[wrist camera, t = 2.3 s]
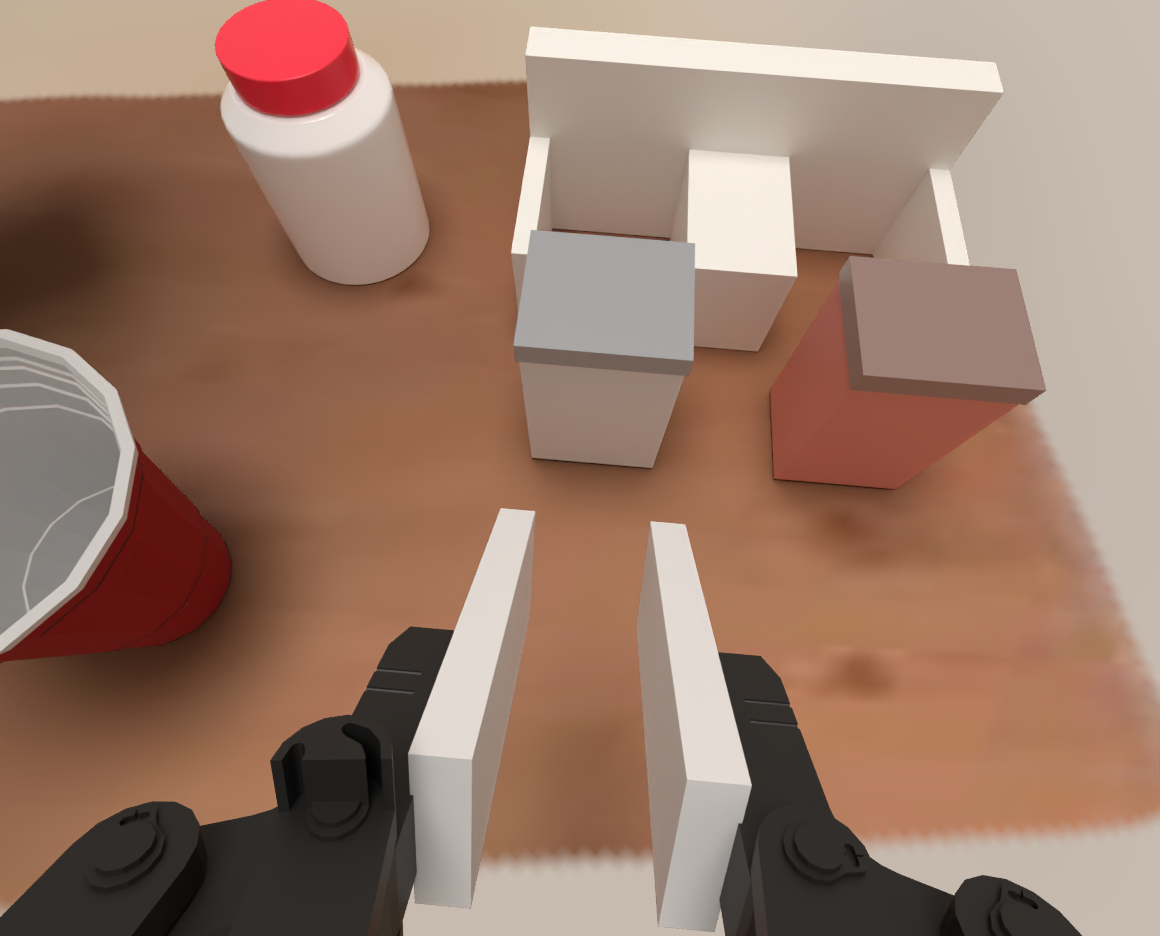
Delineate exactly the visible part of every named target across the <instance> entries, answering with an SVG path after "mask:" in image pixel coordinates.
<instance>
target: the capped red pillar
mask: <svg viewBox="0 0 1160 936" xmlns="http://www.w3.org/2000/svg"><path fill="white" fill-rule="evenodd" d="M1045 391H1046V388H1045V384H1044V380H1043V376H1042V371H1041V367H1040V363H1039V359H1038V356H1037V352H1036V347H1035V343H1034V340H1033V335H1032V331H1031V327H1030V323H1029V319H1028V315H1027V311H1026V307H1025V303H1024V299H1023V295H1022V291H1021V287H1020V283H1019V279H1018V275H1017V271H1016V269H1004V268H992V267H980V266H967V265H955V264H943V263H931V262H918V261H906V260H894V259H882V258H870V257H857V256H849V258H848V260H847V261H846V263H845V264H844V266H843V268H842V269H841V271H840V273H839V281H838V283H837V284H836V286H835V287H834V289H833V291H832V292H831V294H830V295H829V297H828V299H827V300H826V302H825V303H824V305H823V307H822V308H821V310H820V311H819V313H818V315H817V316H816V318H815V319H814V321H813V323H812V324H811V326H810V327H809V329H808V331H807V332H806V334H805V335H804V337H803V339H802V340H801V342H800V343H799V345H798V347H797V348H796V350H795V351H794V353H793V355H792V356H791V358H790V359H789V361H788V363H787V364H786V366H785V367H784V369H783V371H782V372H781V374H780V375H779V377H778V379H777V380H776V382H775V383H774V385H773V387H772V388H771V390H770V400H771V423H772V446H773V468H774V479H784V480H796V481H808V482H819V483H831V484H842V485H854V486H865V487H877V488H889V489H897V488H898V487H900V486H901V485H903V484H904V483H906V482H907V481H909V480H910V479H911V478H913V477H914V476H916V475H917V474H919V473H920V472H922V471H923V470H924V469H926V468H927V467H929V466H930V465H932V464H933V463H935V462H936V461H937V460H939V459H940V458H942V457H943V456H945V455H946V454H948V453H949V452H950V451H952V450H953V449H955V448H956V447H958V446H959V445H961V444H962V443H963V442H965V441H966V440H968V439H969V438H971V437H972V436H974V435H975V434H976V433H978V432H979V431H981V430H982V429H984V428H985V427H987V426H988V425H990V424H991V423H992V422H994V421H995V420H997V419H998V418H1000V417H1001V416H1003V415H1004V414H1005V413H1007V412H1008V411H1010V410H1011V409H1013V408H1014V407H1016V406H1017V405H1018V404H1022V405H1026V404H1027V403H1029V402H1030V401H1032V400H1033V399H1035V398H1036V397H1038V396H1039V395H1040V394H1042V393H1043V392H1045Z"/></svg>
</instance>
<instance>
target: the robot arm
mask: <svg viewBox="0 0 1160 936" xmlns="http://www.w3.org/2000/svg"><path fill="white" fill-rule="evenodd" d="M534 525H535V511H526V510H514V509H503V508H501V509H500V512H499V514H498V517H497V520H496V522H495V525H494V528H493V530H492V533H491V536H490V538H489V541H488V544H487V546H486V549H485V552H484V554H483V557H482V559H481V562H480V565H479V567H478V570H477V573H476V575H475V578H474V581H473V583H472V586H471V589H470V591H469V594H468V596H467V599H466V602H465V604H464V607H463V610H462V612H461V615H460V618H459V620H458V623H457V626H456V628H455V631H454V630H443V629H432V628H421V627H409V628H408V629H407V630H406V631H405V632H403V633H402V634H401V635H400V636H399V637H397V638H396V639H395V640H394V641H393V642H391V643H390V644H389V645H388V647H387V649H386V651H385V653H384V655H383V657H382V659H381V660H380V662H379V664H378V666H377V671H376V672H374V674H373V676H372V678H371V680H370V682H369V683H368V685H367V690H366V691H364V693H363V695H362V697H361V699H360V701H359V703H358V705H357V706H356V708H355V710H354V712H353V714H352V715H343V716H337V717H330V718H324V719H322V720H320V721H317V722H315V723H312V724H310V725H308V726H305V727H303V728H301V729H300V730H299V731H297V732H296V733H295V734H294V735H292V736H291V737H290V738H288V739H287V740H286V741H284V742H283V743H282V745H281V746H280V748H279V749H278V750H277V752H276V753H275V755H274V756H273V757H272V759H271V760H270V762H271V768H272V774H273V780H274V786H275V792H276V798H277V804H278V807H276V808H274V809H272V810H269V811H266V812H262V813H259V814H255V815H252V816H247V817H242V818H237V819H232V820H227V821H222V822H217V823H212V824H207V825H202V826H200V825H199V823H198V821H197V819H196V817H195V815H194V813H193V811H192V810H191V809H189V808H187V807H185V806H183V805H181V804H179V803H177V802H149V803H145V804H142V805H138V806H134V807H131V808H127V809H124V810H123V811H121V812H119V813H117V814H115V815H113V816H111V817H109V818H107V819H105V820H103V821H102V822H100V823H98V824H97V825H95V826H94V827H93V828H92V829H91V830H89V831H88V832H87V833H86V834H84V835H83V836H82V837H81V838H79V839H78V840H77V841H76V842H75V843H73V844H72V845H71V846H70V847H69V848H68V849H67V850H66V851H65V852H64V853H63V854H62V855H61V856H60V857H59V858H58V859H57V860H56V862H55V863H54V864H53V865H52V866H51V867H50V868H49V869H48V870H47V871H46V872H45V873H44V874H43V875H42V876H41V877H40V878H39V879H38V880H37V881H36V882H35V883H34V884H33V885H32V886H31V887H30V888H29V889H28V890H27V891H26V892H25V893H24V894H23V895H22V896H21V897H20V898H19V899H18V900H17V901H16V902H15V903H14V904H13V905H12V906H11V907H10V908H9V909H8V910H7V911H6V912H5V913H4V914H3V915H2V916H1V917H0V936H403V917H404V914H405V910H406V907H407V904H408V900H409V897H410V894H411V890H412V887H413V883H414V891H415V892H414V894H415V903H417V904H428V905H438V906H448V907H459V908H469V909H470V908H471V905H472V899H473V894H474V890H475V885H476V880H477V875H478V870H479V865H480V860H481V855H482V850H483V845H484V840H485V835H486V830H487V825H488V820H489V815H490V810H491V805H492V800H493V795H494V790H495V785H496V780H497V775H498V770H499V765H500V760H501V755H502V751H503V746H504V741H505V736H506V731H507V726H508V721H509V716H510V711H511V706H512V701H513V696H514V691H515V686H516V681H517V676H518V671H519V666H520V661H521V656H522V651H523V646H524V641H525V636H526V631H527V626H528V621H529V616H530V602H531V583H532V564H533V544H534ZM637 636H638V650H639V664H640V678H641V692H642V706H643V721H644V735H645V749H646V763H647V777H648V791H649V806H650V820H651V834H652V848H653V862H654V875H655V890H656V904H657V918H658V927H668V928H678V929H679V928H680V929H689V930H700V931H710V932H714V931H715V927H716V923H717V920H718V915H719V912H720V908H721V912H722V917H723V923H724V930H725V936H1082V935H1081V934H1080V933H1079V932H1078V931H1077V930H1076V929H1075V928H1074V926H1073V925H1072V924H1071V923H1070V922H1069V921H1068V920H1067V919H1066V918H1065V917H1064V916H1063V915H1062V914H1061V913H1060V911H1058V910H1057V909H1055V908H1054V907H1053V906H1051V905H1050V904H1049V903H1047V902H1046V901H1044V900H1043V899H1042V898H1041V897H1039V896H1038V895H1037V894H1035V893H1034V892H1032V891H1030V890H1028V889H1026V888H1024V887H1022V886H1020V885H1017V884H1015V883H1013V882H1011V881H1009V880H1007V879H1002V878H996V877H990V876H985V875H981V876H977V877H974V878H970V879H967V880H964V882H963V883H962V885H961V886H960V888H959V889H958V890H957V892H956V893H955V895H951V894H948V893H946V892H943V891H941V890H939V889H936V888H933V887H931V886H928V885H926V884H923V883H921V882H918V881H916V880H913V879H911V878H908V877H906V876H903V875H900V874H898V873H896V872H894V871H892V870H890V869H888V868H886V867H884V866H882V865H880V864H879V863H878V862H876V861H875V860H873V859H872V858H870V856H869V854H868V852H867V850H866V848H865V846H864V845H863V844H862V843H861V842H860V841H859V839H858V838H857V837H856V836H855V835H854V834H853V833H852V831H851V830H850V829H849V828H848V827H847V826H845V825H844V824H842V823H841V822H839V821H838V820H836V819H835V818H834V816H833V814H832V812H831V810H830V808H829V805H828V802H827V800H826V797H825V795H824V792H823V789H822V787H821V784H820V781H819V779H818V776H817V773H816V771H815V768H814V765H813V763H812V760H811V758H810V755H809V752H808V750H807V747H806V744H805V742H804V739H803V736H802V734H801V731H800V729H798V727H797V724H798V723H797V721H796V718H795V715H794V713H793V710H792V708H790V702H789V699H788V697H787V694H786V691H785V689H784V686H783V684H782V681H781V678H780V677H779V676H778V675H777V674H776V673H775V672H774V670H773V669H772V668H771V667H770V666H769V665H768V664H767V663H766V662H765V660H764V659H763V658H762V657H761V656H754V655H742V654H731V653H720V652H718V651H717V647H716V643H715V639H714V635H713V632H712V628H711V624H710V620H709V616H708V612H707V608H706V604H705V600H704V596H703V592H702V588H701V585H700V581H699V577H698V573H697V569H696V565H695V561H694V557H693V553H692V549H691V545H690V541H689V538H688V534H687V530H686V526H685V524H674V523H663V522H652V521H651V522H650V529H649V537H648V544H647V551H646V559H645V566H644V574H643V581H642V588H641V596H640V603H639V611H638V618H637Z"/></svg>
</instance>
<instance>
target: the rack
mask: <svg viewBox="0 0 1160 936" xmlns="http://www.w3.org/2000/svg"><path fill="white" fill-rule="evenodd" d="M525 58H526V73H527V91H528V107H529V124H530V141H529V147H528V154H527V160H526V166H525V172H524V178H523V184H522V190H521V196H520V202H519V208H518V214H517V220H516V226H515V232H514V239H513V245H512V251H511V256H512V265H513V273H514V282H515V290H516V299H517V308H518V312H519V305H520V299H521V292H522V285H523V279H524V272H525V266H526V259H527V252H528V246H529V239H530V233H531V230H539V231H552V228H555V229H567V230H580V231H592V232H604V233H616V234H629V235H641V236H653V237H665V238H670V241H674V242H686V243H695V293H694V346H697V347H709V348H721V349H733V350H745V351H757V352H758V351H759V349H760V347H761V345H762V343H763V341H764V339H765V337H766V335H767V333H768V332H769V330H770V328H771V326H772V324H773V322H774V320H775V318H776V316H777V314H778V313H779V311H780V309H781V307H782V305H783V303H784V301H785V299H786V297H787V295H788V294H789V292H790V290H791V288H792V286H793V284H794V282H795V280H796V278H797V264H796V250H795V248H800V249H812V250H824V251H837V252H849V253H861V254H873V258H882V259H894V260H906V261H918V262H931V263H943V264H955V265H967V266H970V264H969V260H968V255H967V250H966V246H965V241H964V236H963V232H962V227H961V222H960V217H959V212H958V208H957V203H956V198H955V194H954V189H953V184H952V180H951V175H950V169H951V167H952V166H953V165H954V163H955V162H956V160H957V159H958V157H959V156H960V155H961V153H962V152H963V150H964V149H965V147H966V146H967V145H968V143H969V142H970V140H971V139H972V137H973V136H974V135H975V133H976V132H977V130H978V129H979V127H980V126H981V125H982V123H983V122H984V120H985V119H986V117H987V116H988V115H989V113H990V112H991V110H992V109H993V107H994V106H995V105H996V103H997V102H998V100H999V99H1000V98H1001V96H1002V95H1003V93H1004V92H1003V88H1002V85H1001V81H1000V77H999V74H998V70H997V67H996V63H992V62H979V61H967V60H954V59H941V58H929V57H916V56H902V55H890V54H876V53H863V52H852V51H851V52H850V51H838V50H826V49H813V48H800V47H787V46H774V45H761V44H749V43H736V42H723V41H709V40H697V39H684V38H671V37H658V36H645V35H633V34H619V33H606V32H594V31H581V30H568V29H555V28H543V27H542V28H541V27H530V33H529V38H528V44H527V50H526V55H525Z"/></svg>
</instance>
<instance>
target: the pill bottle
mask: <svg viewBox="0 0 1160 936" xmlns="http://www.w3.org/2000/svg"><path fill="white" fill-rule="evenodd" d="M215 50H216V55H217V57H218V59H219V61H220V63H221V65H222V67H223V69H224V71H225V72H226V74H227V76H228V78H229V81H228V82H227V84H226V87H225V89H224V91H223V94H222V99H221V105H220V108H221V116H222V121H223V123H224V125H225V127H226V129H227V131H228V133H229V135H230V137H231V139H232V140H233V142H234V144H235V146H236V147H237V149H238V151H239V153H240V154H241V156H242V158H243V159H244V161H245V163H246V165H247V166H248V168H249V170H250V172H251V173H252V175H253V177H254V179H255V180H256V182H257V184H258V185H259V187H260V189H261V191H262V192H263V194H264V196H265V198H266V199H267V201H268V203H269V205H270V206H271V208H272V210H273V212H274V213H275V215H276V217H277V218H278V220H279V222H280V224H281V225H282V227H283V229H284V231H285V232H286V234H287V236H288V238H289V239H290V241H291V243H292V244H293V246H294V248H295V250H296V251H297V253H298V255H299V257H300V258H301V260H302V261H303V263H304V264H305V265H306V266H307V267H308V269H310V270H311V271H312V272H314V273H315V274H316V275H318V276H319V277H322V278H324V279H326V280H328V281H331V282H335V283H339V284H346V285H364V284H371V283H376V282H380V281H383V280H386V279H388V278H391V277H393V276H395V275H397V274H399V273H400V272H402V271H404V270H406V269H407V268H408V267H409V266H410V265H411V264H413V263H414V262H415V261H416V260H417V258H418V257H419V256H420V255H421V253H422V252H423V250H424V248H425V246H426V244H427V241H428V237H429V233H430V229H429V219H428V216H427V212H426V208H425V205H424V201H423V198H422V194H421V190H420V187H419V183H418V179H417V176H416V172H415V168H414V165H413V161H412V158H411V154H410V150H409V147H408V143H407V139H406V136H405V132H404V129H403V125H402V121H401V118H400V114H399V110H398V107H397V103H396V100H395V96H394V92H393V89H392V86H391V82H390V79H389V77H388V75H387V74H386V72H385V71H384V69H383V67H382V66H381V65H380V64H379V63H378V62H377V61H376V60H375V59H373V58H372V57H371V56H369V55H368V54H366V53H364V52H363V51H361V50H360V49H358V48H356V47H354V45H353V41H352V38H351V35H350V32H349V28H348V25H347V23H346V21H345V20H344V18H343V17H342V15H341V14H340V13H339V12H338V11H336V10H335V9H334V8H332V7H330V6H329V5H327V4H324V3H322V2H319V1H316V0H266V1H263V2H259V3H256V4H254V5H251V6H249V7H246V8H244V9H243V10H241V11H239V12H237V13H236V14H234V15H233V16H232V17H231V18H230V19H228V20H227V21H226V22H225V24H224V25H223V26H222V27H221V28H220V30H219V33H218V34H217V37H216V41H215Z"/></svg>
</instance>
